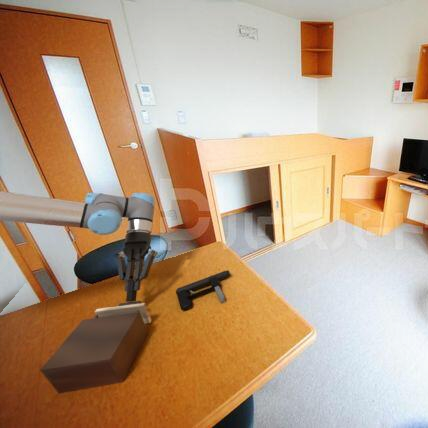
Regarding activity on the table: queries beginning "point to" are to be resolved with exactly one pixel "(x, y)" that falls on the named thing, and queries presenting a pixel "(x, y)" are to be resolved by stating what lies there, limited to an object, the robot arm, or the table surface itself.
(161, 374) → the table surface
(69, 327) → the table surface
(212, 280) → the black clamp
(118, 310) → the drawer
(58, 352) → the cabinet
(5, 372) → the table surface
